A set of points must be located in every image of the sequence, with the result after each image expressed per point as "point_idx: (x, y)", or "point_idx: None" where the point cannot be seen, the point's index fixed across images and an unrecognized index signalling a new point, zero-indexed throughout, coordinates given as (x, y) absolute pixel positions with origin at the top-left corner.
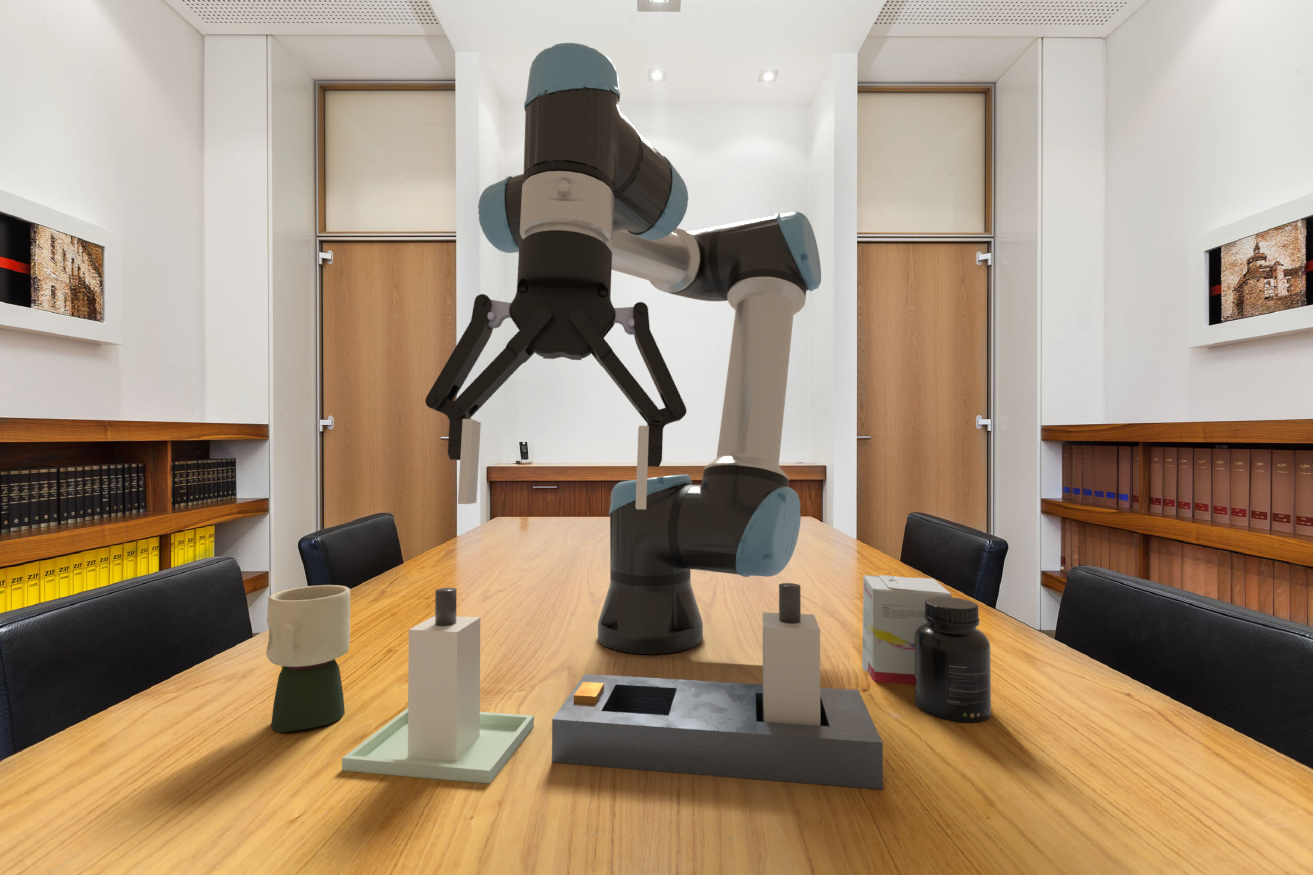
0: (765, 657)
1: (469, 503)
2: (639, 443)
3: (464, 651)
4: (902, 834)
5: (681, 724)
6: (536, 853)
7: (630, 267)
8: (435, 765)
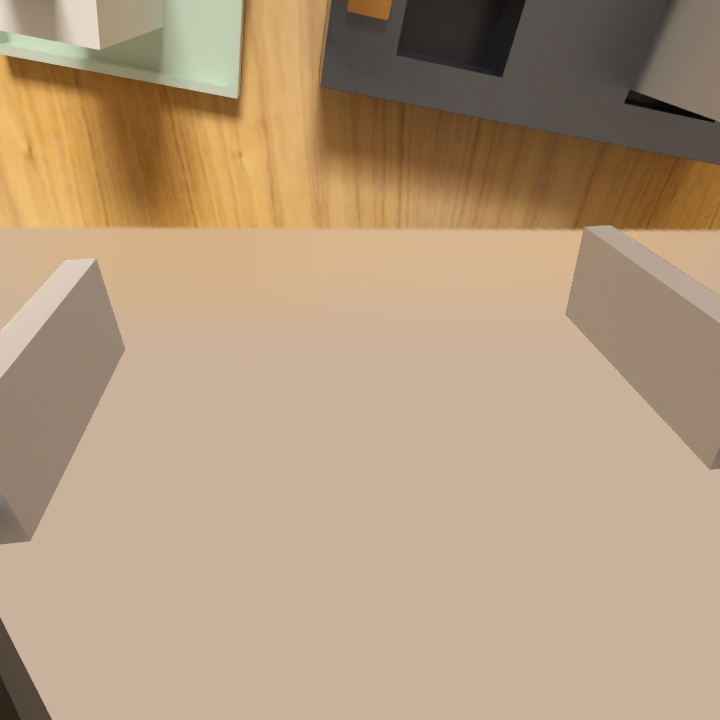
0: (695, 112)
1: (119, 332)
2: (670, 421)
3: (113, 4)
4: (683, 189)
5: (513, 111)
6: (326, 214)
7: None
8: (152, 81)
